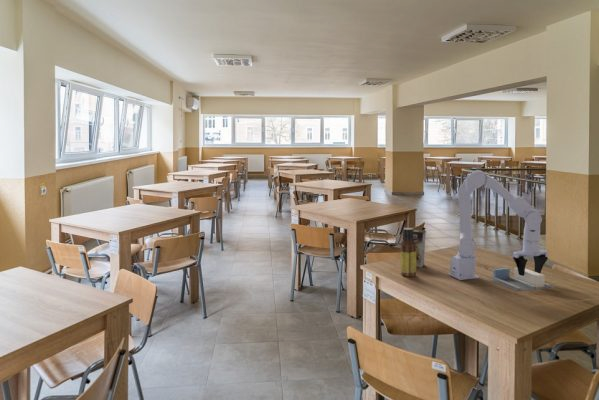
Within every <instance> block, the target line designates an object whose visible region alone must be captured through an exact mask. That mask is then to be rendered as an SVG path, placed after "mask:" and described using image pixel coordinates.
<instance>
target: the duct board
mask: <svg viewBox="0 0 599 400" xmlns="http://www.w3.org/2000/svg"><path fill="white" fill-rule="evenodd" d="M510 271H511V269H510V268H509V267H506V268H494V269H493V276H492V278H488V280H489V281H492V282H493V283H496V284H498V285H501V286H503V287H505V288H507V289H510V290H513V291H514V292H525V291H537V290H549V289H556V288H557V287H556V286H553V285H551V284H549V283H547V282H545V283H544V287H537V288H536V286H534V285H531V284H529V283H526V282H524V281H521V280H519V279H516V278H514V276H511V275H510V273H511V272H510Z"/></svg>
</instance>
